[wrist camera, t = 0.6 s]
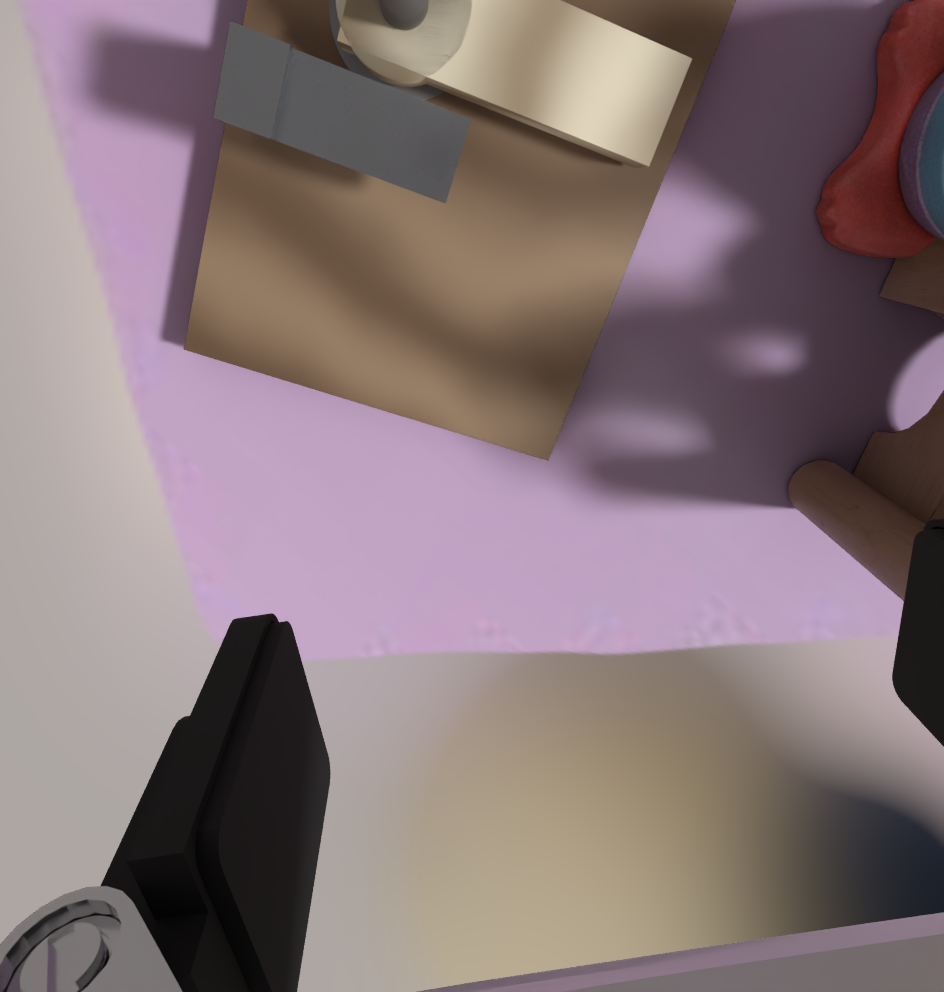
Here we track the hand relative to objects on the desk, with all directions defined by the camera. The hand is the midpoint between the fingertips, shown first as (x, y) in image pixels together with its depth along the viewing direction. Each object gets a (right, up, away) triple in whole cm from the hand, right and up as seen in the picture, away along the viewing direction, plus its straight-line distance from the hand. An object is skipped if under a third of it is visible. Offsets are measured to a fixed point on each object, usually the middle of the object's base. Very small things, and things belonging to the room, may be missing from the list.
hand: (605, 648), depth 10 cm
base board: (-3, +19, +20) cm, 28 cm away
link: (-1, +20, +18) cm, 27 cm away
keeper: (-7, +18, +19) cm, 27 cm away
